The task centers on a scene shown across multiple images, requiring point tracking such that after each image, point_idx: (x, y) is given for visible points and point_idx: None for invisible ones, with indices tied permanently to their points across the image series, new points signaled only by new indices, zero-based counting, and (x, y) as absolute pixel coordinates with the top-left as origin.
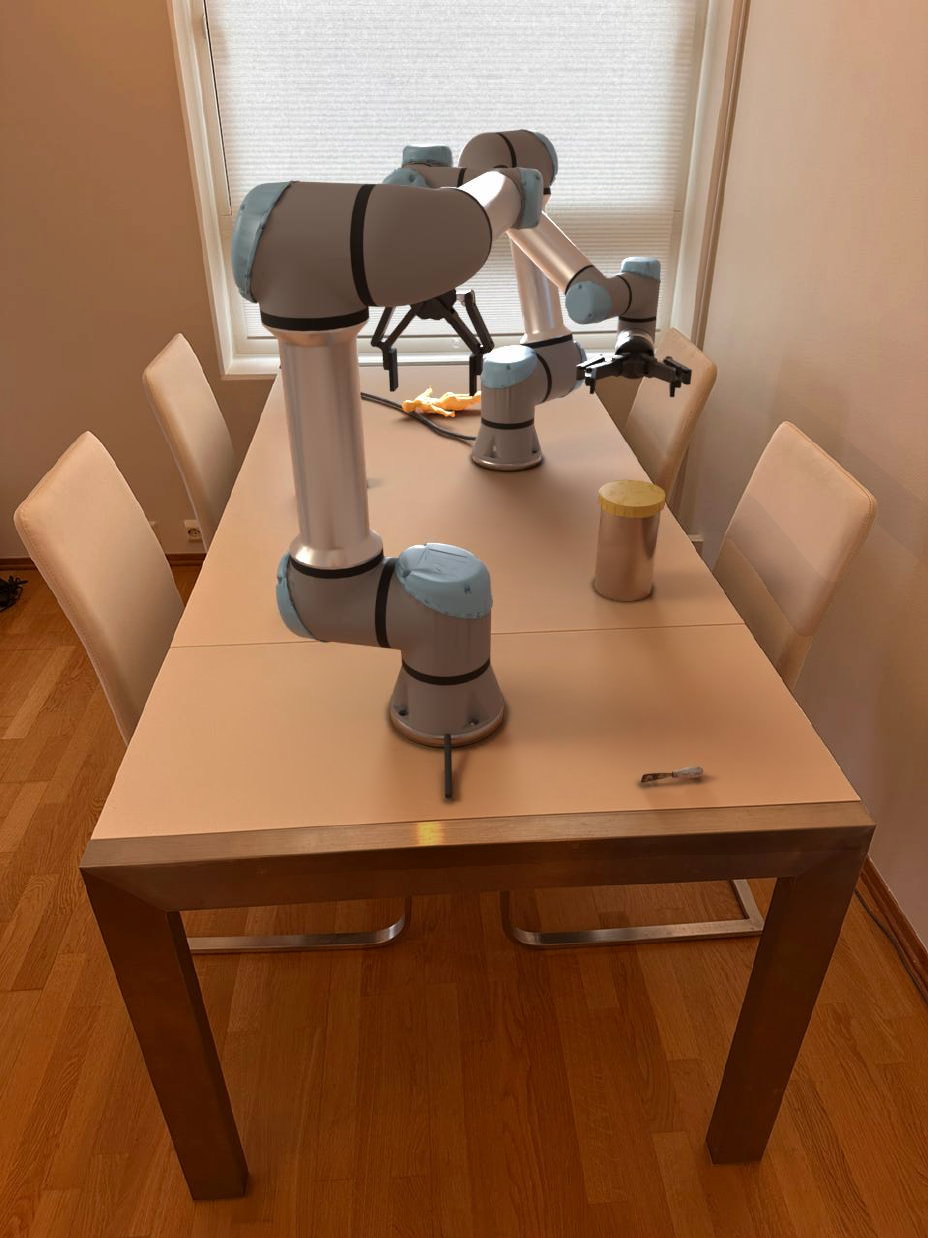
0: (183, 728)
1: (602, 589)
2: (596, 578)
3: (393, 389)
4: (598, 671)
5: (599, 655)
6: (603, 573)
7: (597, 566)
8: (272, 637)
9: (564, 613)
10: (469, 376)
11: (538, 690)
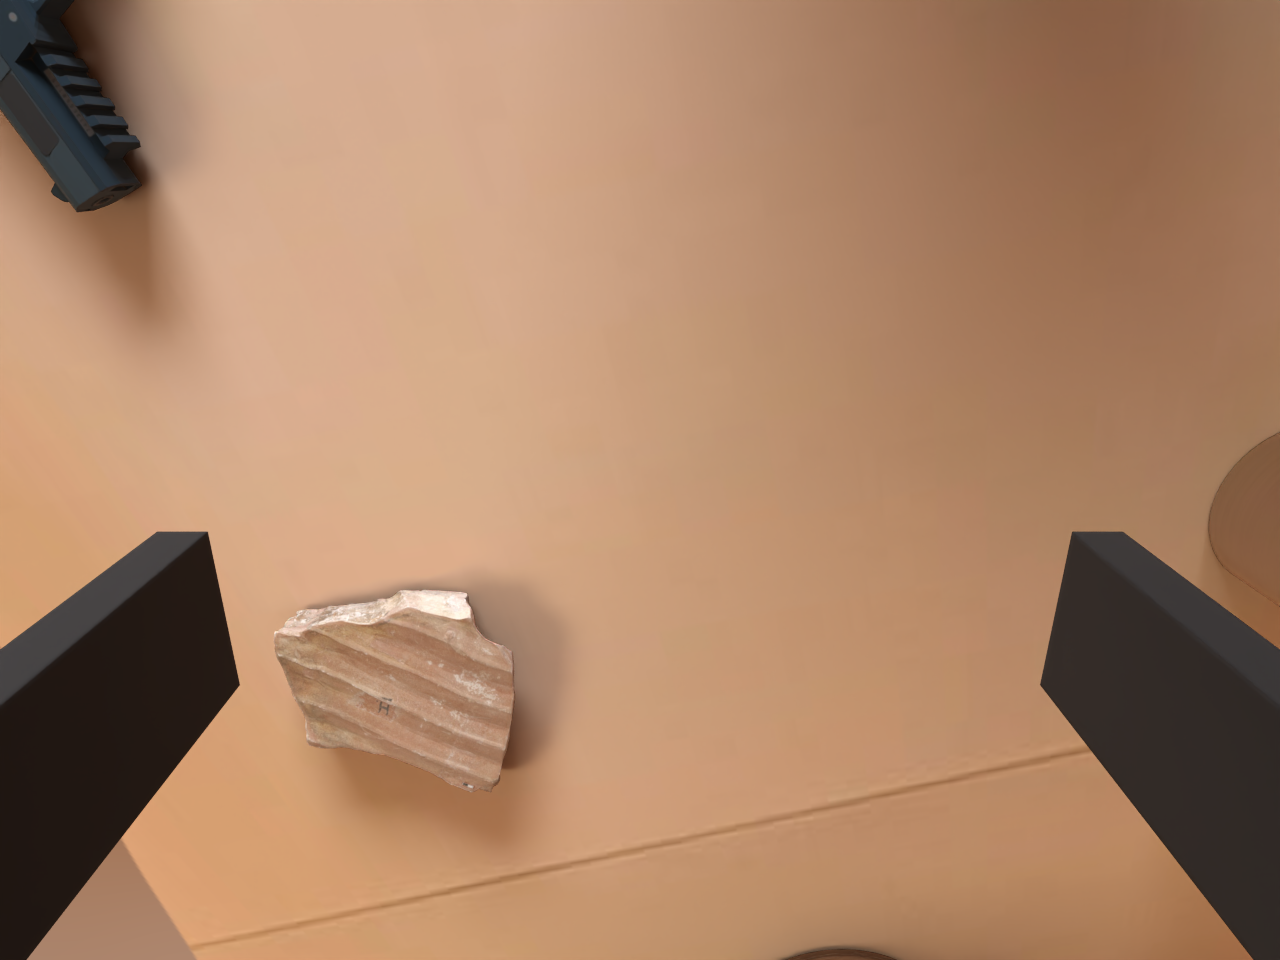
0: None
1: (1237, 576)
2: (1235, 553)
3: (222, 696)
4: (1154, 874)
5: None
6: (1277, 603)
7: (1268, 574)
8: (371, 888)
9: None
10: (1170, 849)
11: (1014, 947)
